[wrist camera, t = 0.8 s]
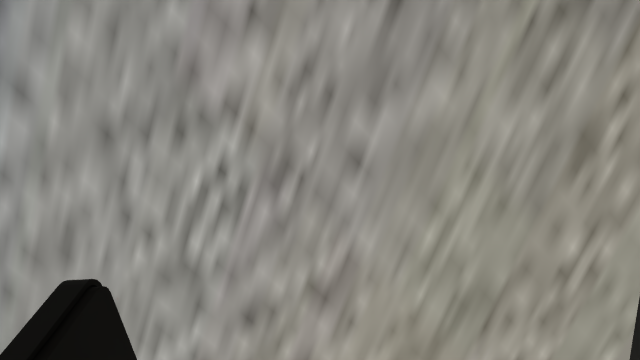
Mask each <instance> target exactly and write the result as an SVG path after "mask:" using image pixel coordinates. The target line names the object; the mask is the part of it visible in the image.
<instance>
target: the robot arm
mask: <svg viewBox="0 0 640 360" xmlns="http://www.w3.org/2000/svg"><path fill="white" fill-rule="evenodd" d="M0 360H137V358H136V356H135V353H134V351H133V348H132V346H131V343H130V340H129V338H128V335H127V333H126V330H125V328H124V325H123V323H122V320H121V318H120V315H119V313H118V310H117V307H116V305H115V302H114V300H113V297H112V295H111V292H110V291H109V289H108V288H107V287H104V286H102V285H101V283H100V282H99V281H98V280H95V279H85V280H67V281H64V282H62V283H61V284H60V285H59V286H58V287H57V288H56V289H55V290H54V292H53V293H52V294H51V295H50V296H49V298H48V299H47V300H46V301H45V302H44V303H43V305H42V306H41V307H40V308H39V309H38V311H37V312H36V313H35V314H34V315H33V317H32V318H31V319H30V320H29V321H28V323H27V324H26V325H25V326H24V327H23V328H22V330H21V331H20V332H19V333H18V334H17V336H16V337H15V338H14V339H13V340H12V342H11V343H10V344H9V345H8V346H7V348H6V349H5V350H4V351H3V352H2V353H1V355H0ZM630 360H640V298H639V304H638V310H637V317H636V323H635V329H634V335H633V342H632V348H631V355H630Z"/></svg>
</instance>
